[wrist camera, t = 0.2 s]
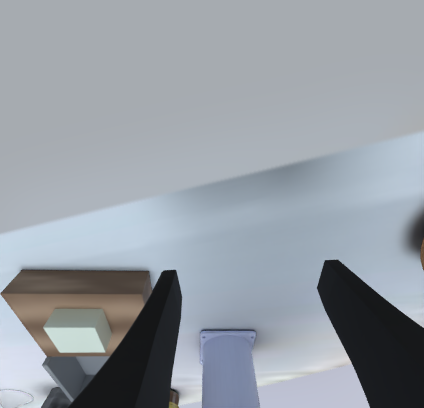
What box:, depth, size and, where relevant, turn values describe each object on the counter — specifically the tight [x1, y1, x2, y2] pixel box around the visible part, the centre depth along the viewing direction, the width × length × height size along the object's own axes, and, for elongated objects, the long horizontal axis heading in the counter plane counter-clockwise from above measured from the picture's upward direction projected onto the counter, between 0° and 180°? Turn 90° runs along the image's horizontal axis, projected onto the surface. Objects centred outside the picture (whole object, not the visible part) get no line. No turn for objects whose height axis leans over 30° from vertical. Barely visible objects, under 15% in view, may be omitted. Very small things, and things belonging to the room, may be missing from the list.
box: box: [42, 356, 110, 402], centre depth 33 cm, size 13×14×4 cm
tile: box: [43, 309, 112, 353], centre depth 24 cm, size 5×5×2 cm
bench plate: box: [0, 270, 152, 357], centre depth 27 cm, size 13×14×3 cm
